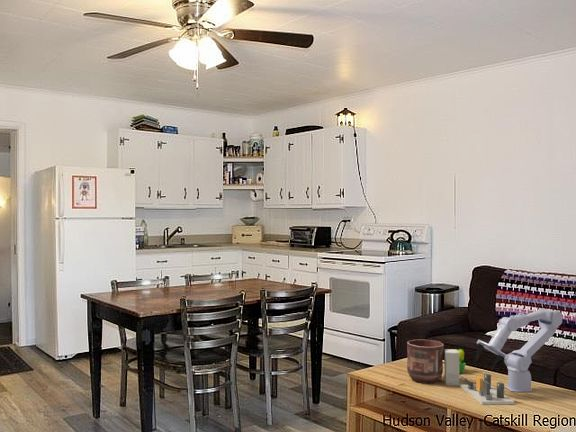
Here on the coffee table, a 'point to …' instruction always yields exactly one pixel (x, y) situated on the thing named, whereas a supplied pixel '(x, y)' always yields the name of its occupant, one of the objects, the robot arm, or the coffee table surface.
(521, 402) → the coffee table surface
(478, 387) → the block
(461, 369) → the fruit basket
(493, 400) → the breaker panel
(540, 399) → the coffee table surface
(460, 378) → the paddle
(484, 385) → the paddle
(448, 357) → the skincare box
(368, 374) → the coffee table surface
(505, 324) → the robot arm
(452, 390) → the coffee table surface
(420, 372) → the pottery
